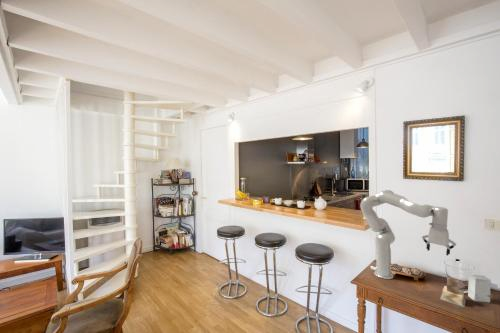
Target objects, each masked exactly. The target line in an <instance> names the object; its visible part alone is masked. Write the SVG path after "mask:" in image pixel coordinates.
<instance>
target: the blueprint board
mask: <svg viewBox="0 0 500 333" xmlns="http://www.w3.org/2000/svg"><path fill="white" fill-rule="evenodd" d="M439 299H440V300H442V301H444V302H447V303H450V304H454V305H456V306H460V307H462V308H465V306H466V301H467V299H465V298H464V299H463V304H462V305H459V304H456V303H453V302H450V301H447V300H444V299H442V294H441V295H440V298H439Z"/></svg>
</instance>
